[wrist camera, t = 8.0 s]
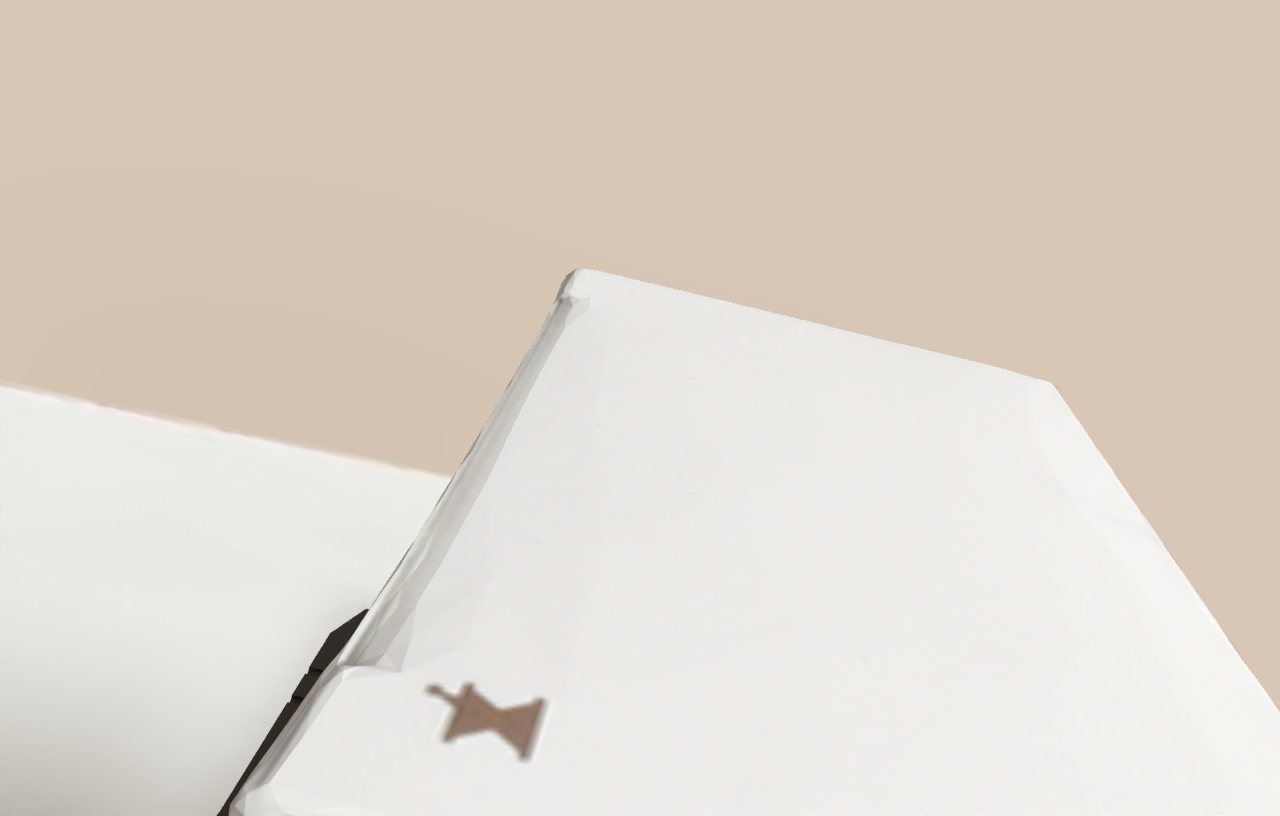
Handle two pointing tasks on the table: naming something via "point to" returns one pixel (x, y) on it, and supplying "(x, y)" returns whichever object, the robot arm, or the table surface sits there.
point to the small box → (776, 600)
